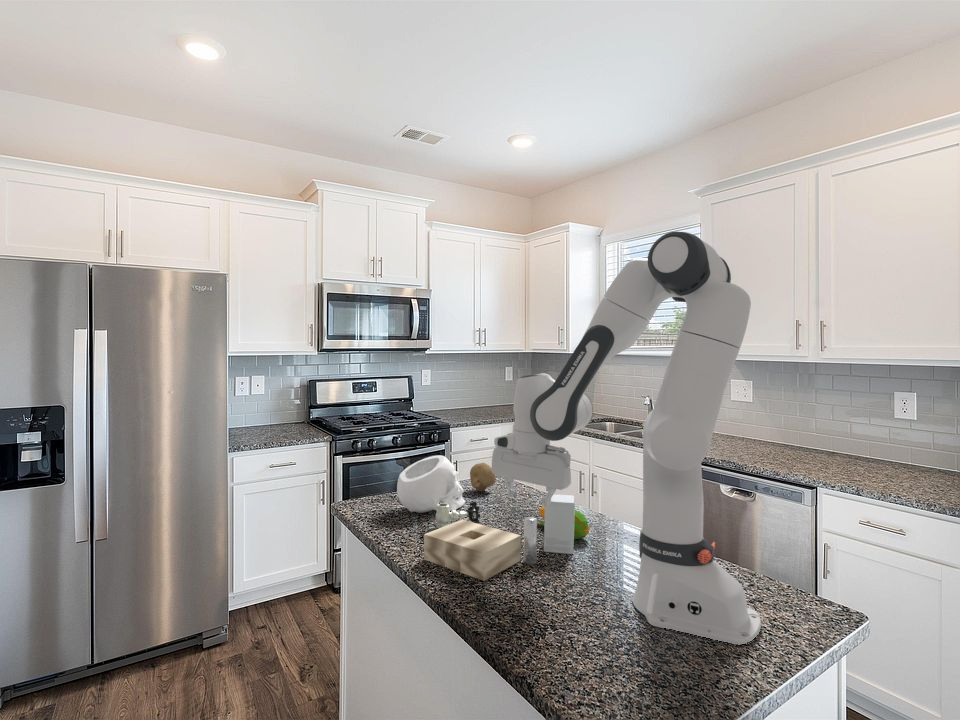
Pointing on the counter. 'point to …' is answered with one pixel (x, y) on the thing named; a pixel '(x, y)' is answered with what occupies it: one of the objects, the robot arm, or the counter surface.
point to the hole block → (472, 549)
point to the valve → (455, 514)
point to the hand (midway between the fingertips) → (528, 500)
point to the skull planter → (430, 485)
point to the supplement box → (559, 524)
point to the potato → (481, 476)
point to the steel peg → (530, 540)
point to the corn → (579, 523)
